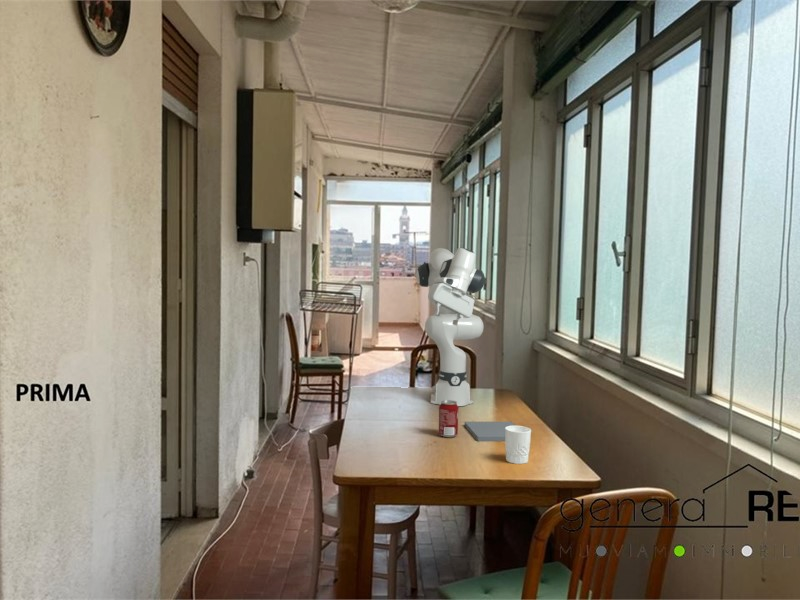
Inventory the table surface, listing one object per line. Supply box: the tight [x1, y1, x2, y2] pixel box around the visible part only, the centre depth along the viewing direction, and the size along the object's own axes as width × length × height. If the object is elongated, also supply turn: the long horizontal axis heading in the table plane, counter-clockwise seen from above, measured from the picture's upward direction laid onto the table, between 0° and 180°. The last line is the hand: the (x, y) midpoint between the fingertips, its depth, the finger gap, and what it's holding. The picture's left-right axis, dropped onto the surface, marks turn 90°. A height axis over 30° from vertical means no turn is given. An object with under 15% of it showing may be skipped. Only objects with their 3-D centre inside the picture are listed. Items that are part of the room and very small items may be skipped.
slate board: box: [464, 421, 517, 442], centre depth 219 cm, size 20×18×2 cm
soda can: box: [437, 400, 459, 439], centre depth 214 cm, size 7×7×12 cm
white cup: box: [504, 425, 532, 465], centre depth 188 cm, size 8×8×10 cm
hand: (445, 320), depth 232 cm, fingers open, 8 cm apart
